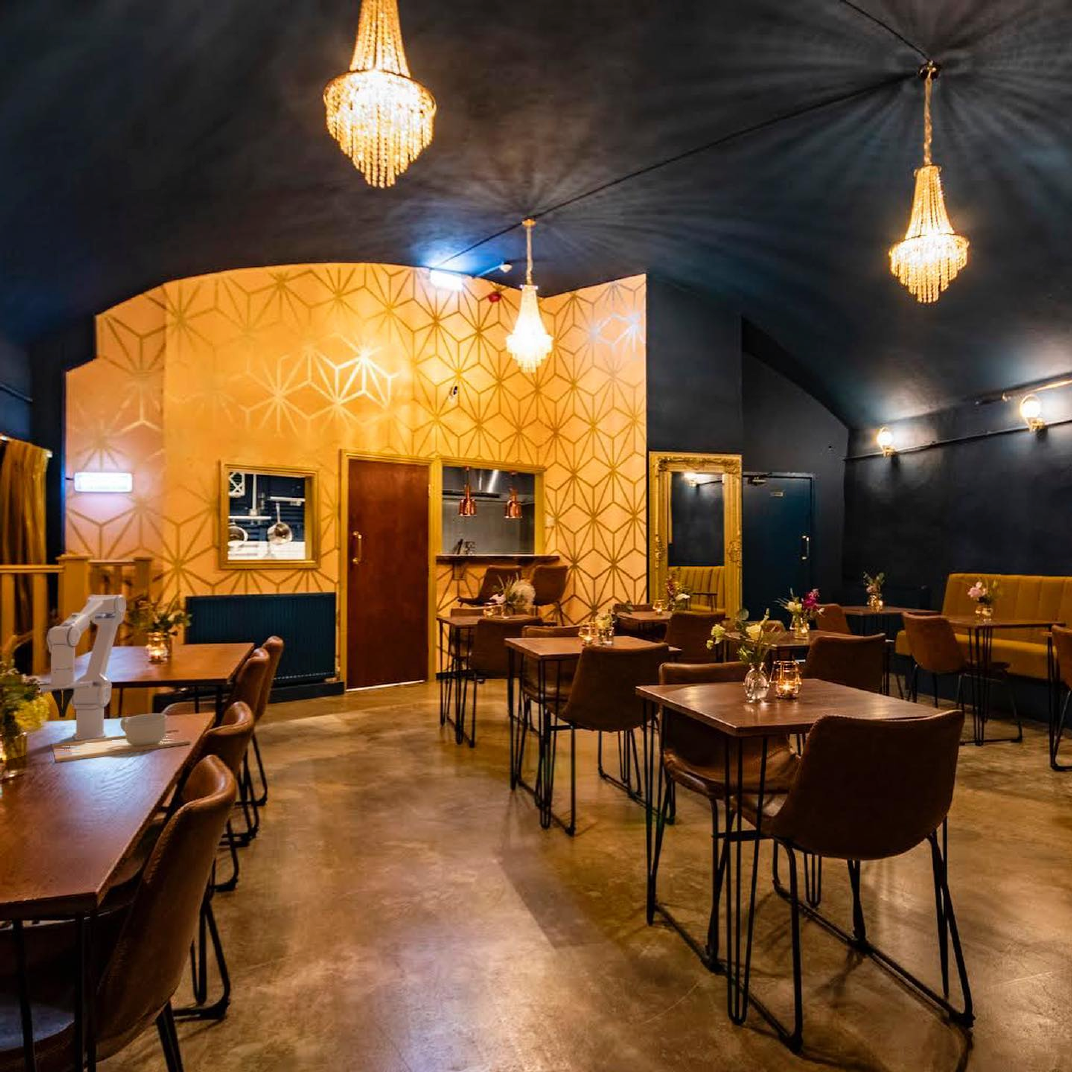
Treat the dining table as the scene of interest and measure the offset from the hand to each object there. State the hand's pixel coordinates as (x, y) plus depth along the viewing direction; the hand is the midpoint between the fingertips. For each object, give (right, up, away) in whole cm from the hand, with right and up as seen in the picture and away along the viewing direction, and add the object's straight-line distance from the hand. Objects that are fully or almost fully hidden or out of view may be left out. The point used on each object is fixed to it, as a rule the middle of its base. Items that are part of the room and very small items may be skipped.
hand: (62, 716), depth 213 cm
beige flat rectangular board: (+15, -10, +4) cm, 18 cm away
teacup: (+20, -10, +5) cm, 23 cm away
